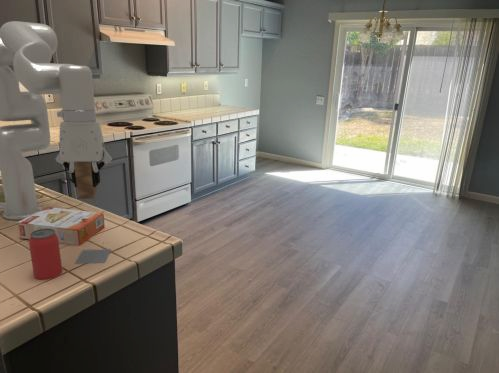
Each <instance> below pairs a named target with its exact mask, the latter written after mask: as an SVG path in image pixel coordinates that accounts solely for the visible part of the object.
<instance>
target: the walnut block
mask: <svg viewBox="0 0 499 373" xmlns="http://www.w3.org/2000/svg"><path fill="white" fill-rule="evenodd" d="M74 169H75V176H76V184H77V187H76V190H77V198H78V200H80V199H82V200H85V199H86V200H87V199H89V200H90V199H91V200H92V199H93V200H94V199H95V198H96V197H97V195H98V193H99V190H98V185H97V186H96V187H93V179H92V173H93V167H92V164H91V162H74Z"/></svg>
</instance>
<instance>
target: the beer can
mask: <svg viewBox="0 0 499 373" xmlns="http://www.w3.org/2000/svg"><path fill="white" fill-rule="evenodd" d="M28 247H29V252H30V260H31V265H32V271H33V272H32V273H33V276H34V278H35V279H37V280H40V281H41V280H42V281H44V280H45V281H46V280H51V279H54V278H56V277H58V276H60V275H61V274H62V272H63V266H62V258H61V249H60V243H59V241H58V237H57V235H56V233H55V230H53V229H49V228H45V229H39V230H36V231H33V232H32V233H31V234H30V239H28Z"/></svg>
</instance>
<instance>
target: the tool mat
mask: <svg viewBox="0 0 499 373" xmlns="http://www.w3.org/2000/svg"><path fill="white" fill-rule="evenodd" d="M111 251H112V249H110V248H109V249H107V248H105V249H104V248H103V249H82V251H81V252H80V255H79V256H78V257H77V259H76V260H75V262H74V265H76V264H77V265H79V264H81V265H82V264H105V263H106V262H107V259H108V257H109V255H110V253H111Z"/></svg>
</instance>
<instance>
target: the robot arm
mask: <svg viewBox="0 0 499 373" xmlns="http://www.w3.org/2000/svg"><path fill="white" fill-rule="evenodd" d="M58 44H59V42H58V37H57V34H56V32H55V30H54V29H53V28H52V27H51V26H50V25H47V24H44V23H39V22H38V23H36V22H27V21H19V20H17V21H16V20H13V21H7V22H5V23H4V24H2V25H1V27H0V122H21V121H30V122H31V123H22V124H21V123H20V124H8V125H1V126H0V175H1V177H0V178H1V182H2V189H3V194H4V200H5V201H4V202H0V210H3V211H2V217H3V218H4V219H6V220H11V221H12V220H14V221H17V220H19V221H20V220H23V219H25V218H27V217H29V216H31V215H33V214H35V213H38V212H40V211H41V210H43V209H44V208H43V206H41V205H40V204H38V198H37V190H36V187H35V186H36V185H35V179H34V178H35V177H34V173H33V172H34V171H33V170H34V169H33V166H32V163H31V162H30V160H29V159H28V158H26V157H25V156H24V155H23V153H29V152H36V151H42V150H46V149H48V148H49V147H50V146H51V130H50V122H49V114H48V107H47V104H46V103H47V102H46V100H45V98H44V96H42V95H60V98H61V106H62V107H61V108H62V109H61V110H60V111H57V112H56V115H57V117H58V118H61V119H62V120H63V121H61V122H60V123H59V136H58V138H59V139H58V140H59V151H58V152H59V153H58V154H57V156H55V159H54V160H55V161H56V162H57V163H58V164H61V165H62V166H63V167H65V168H66V169H67V170H68V171H69V173H71V183H72V184H74V188H77V184H76V176H75V169H74V162H91V164H92V167H93V173H92V179H93V187H96V186H97V187H98V186H99V184H100V183H101V174H100V173H101V172H100V170H101V169H103V167H104V166H106V165H107V164H109V163H111V161H112V160H113V157H112V156H111V155H110V154H109V152H108V151H107V149H106V148H105V143H104V142H105V141H104V136H103V130H102V128H101V123H100V122H99V121H98V120H97V117H96V116H97V115H96V114H97V113H96V104H95V93H94V83H93V82H94V81H93V73H92V69H91V68H90V67H89V66H87V65H76V64H75V63H74V64H72V63H55V62H54V63H52V62H51V61H52V58H53V55H54V54H55V53H56V51H57V50H58V47H59V46H58ZM10 66H13V69H12V68H11V67H10ZM20 84H21V85H22V86H23V87H24V88H25V89H26V90H27V91H21V89H20ZM103 158H104V159H103Z"/></svg>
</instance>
